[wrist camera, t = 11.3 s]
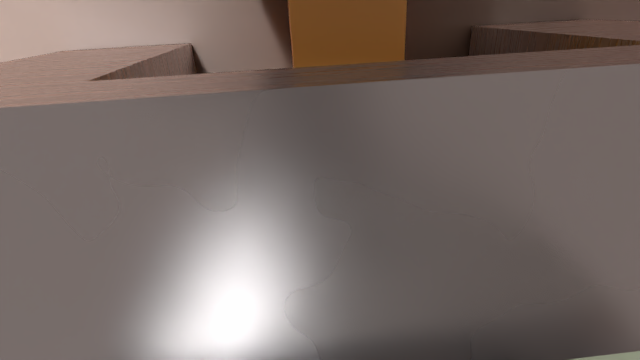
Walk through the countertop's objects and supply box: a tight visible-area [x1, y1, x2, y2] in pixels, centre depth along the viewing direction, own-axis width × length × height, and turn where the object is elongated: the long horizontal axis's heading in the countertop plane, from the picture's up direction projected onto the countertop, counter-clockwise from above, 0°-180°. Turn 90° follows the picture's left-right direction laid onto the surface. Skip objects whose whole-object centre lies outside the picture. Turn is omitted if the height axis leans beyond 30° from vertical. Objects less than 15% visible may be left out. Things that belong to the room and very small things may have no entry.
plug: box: [288, 0, 407, 68], centre depth 8 cm, size 14×4×5 cm, turn 3°
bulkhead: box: [0, 19, 640, 360], centre depth 7 cm, size 4×13×6 cm, turn 93°
